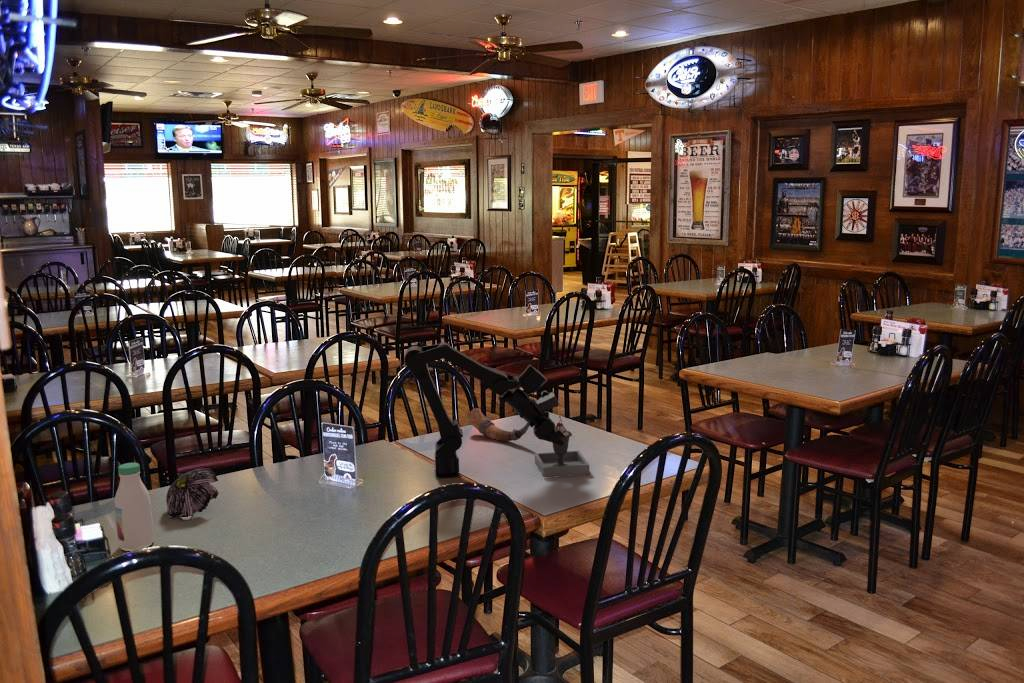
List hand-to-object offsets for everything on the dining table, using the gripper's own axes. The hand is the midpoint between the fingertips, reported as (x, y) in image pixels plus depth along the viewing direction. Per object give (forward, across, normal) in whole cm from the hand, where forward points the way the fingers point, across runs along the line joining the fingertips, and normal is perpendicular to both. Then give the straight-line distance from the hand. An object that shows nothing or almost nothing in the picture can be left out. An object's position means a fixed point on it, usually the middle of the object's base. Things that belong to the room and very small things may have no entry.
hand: (560, 439), depth 244 cm
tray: (+6, 0, +6) cm, 9 cm away
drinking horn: (-4, +31, +17) cm, 36 cm away
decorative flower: (-64, -18, +78) cm, 103 cm away
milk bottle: (-69, -40, +83) cm, 115 cm away
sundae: (+6, 0, +6) cm, 8 cm away
